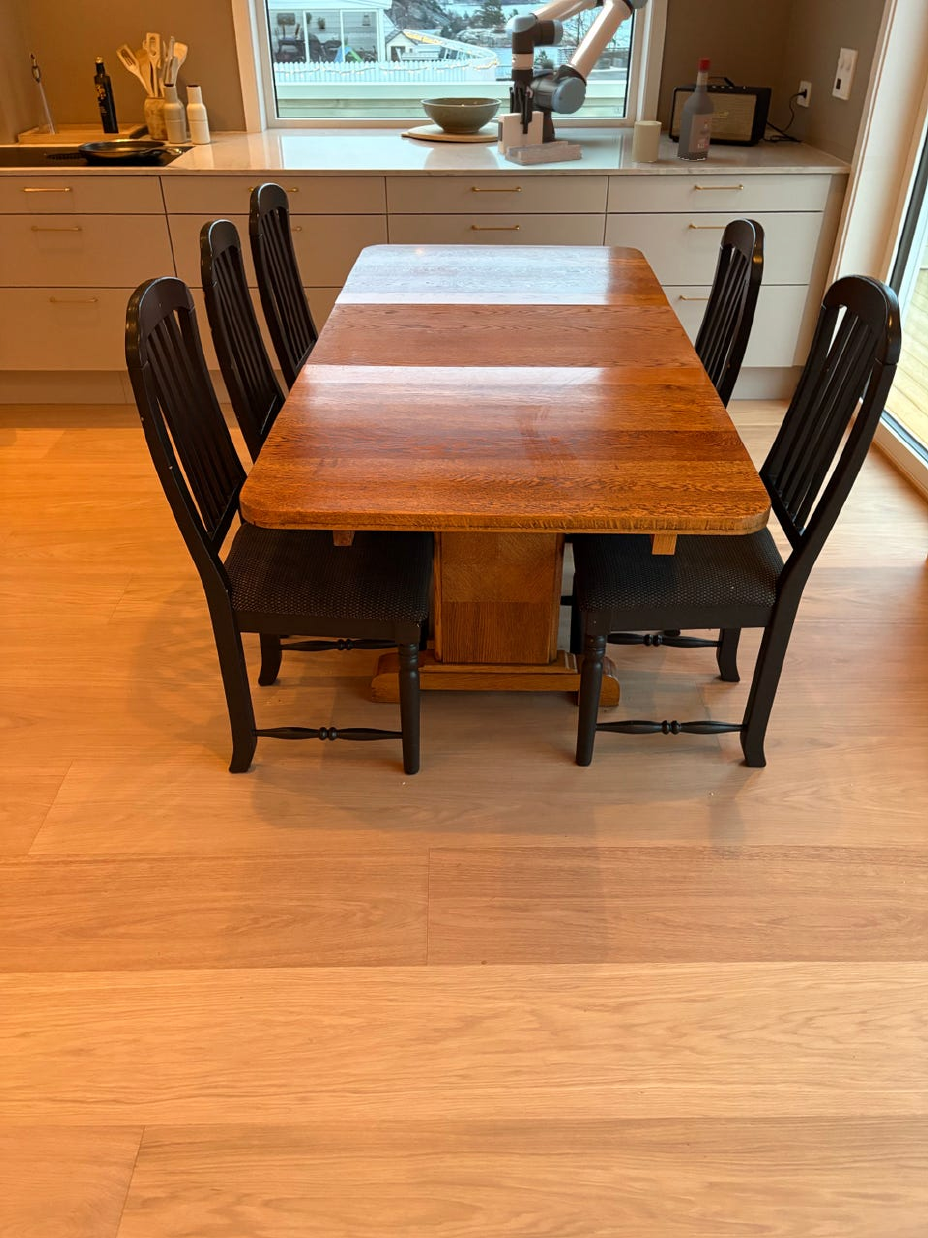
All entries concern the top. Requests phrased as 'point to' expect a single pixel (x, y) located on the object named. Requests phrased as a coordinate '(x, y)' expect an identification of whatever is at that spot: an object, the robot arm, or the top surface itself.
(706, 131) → the liquor
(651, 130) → the can
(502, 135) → the door panel
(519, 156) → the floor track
